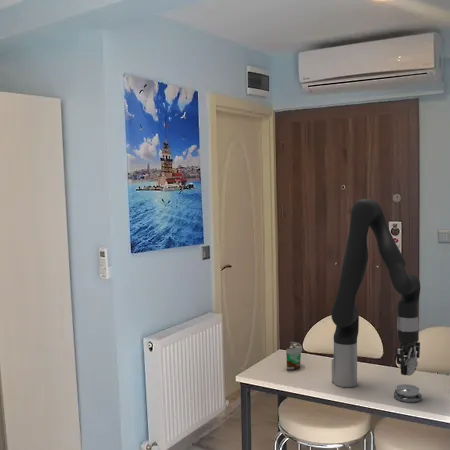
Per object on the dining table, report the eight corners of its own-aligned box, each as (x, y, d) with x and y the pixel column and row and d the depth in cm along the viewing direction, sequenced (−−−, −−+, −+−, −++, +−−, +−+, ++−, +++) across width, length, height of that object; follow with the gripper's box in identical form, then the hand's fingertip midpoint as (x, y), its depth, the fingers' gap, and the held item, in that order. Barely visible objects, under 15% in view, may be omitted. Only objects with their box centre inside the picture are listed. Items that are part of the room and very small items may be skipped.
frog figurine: (415, 379, 197) (414, 360, 197) (396, 375, 202) (396, 357, 202) (421, 374, 202) (420, 356, 202) (402, 371, 207) (402, 353, 206)
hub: (388, 397, 203) (388, 388, 203) (402, 390, 210) (402, 381, 210) (413, 405, 195) (413, 395, 195) (427, 397, 202) (427, 388, 202)
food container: (300, 373, 232) (300, 350, 232) (286, 371, 234) (286, 349, 233) (304, 364, 244) (304, 342, 243) (291, 363, 246) (290, 341, 245)
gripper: (408, 323, 209) (408, 365, 210) (388, 330, 199) (389, 375, 200) (426, 326, 203) (427, 370, 204) (407, 333, 193) (408, 379, 194)
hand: (408, 372), depth 202 cm, fingers closed on frog figurine, 6 cm apart
